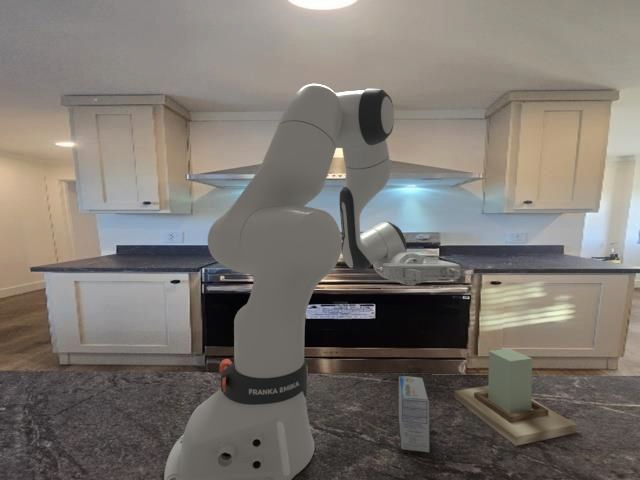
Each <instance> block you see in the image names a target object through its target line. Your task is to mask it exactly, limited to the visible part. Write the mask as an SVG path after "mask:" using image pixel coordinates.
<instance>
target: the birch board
mask: <svg viewBox="0 0 640 480" xmlns="http://www.w3.org/2000/svg"><path fill="white" fill-rule="evenodd" d="M453 399H455V400H456V401H457V402H458V403H460V404H461V405H463V406H464V407H465V408H467V409H468V410H469V411H470V412H472V413H473V414H474V415H475V416H476V417H478V418H480V419H481V420H482V421H483V422H484V423H486V424H487V425H488V426H489V427H490V428H492V429H494V430H495V432H498V434H500V435H501V436H502V437H504V438H505V439H506V440H507V441H508V442H510V443H511V444H512V445H514V446H515V447H517V446H522V445H526V444H530V443H535V442H540V441H545V440H549V439H555V438H558V437H563V436H567V435H573V434H576V433H577V424H576V423H574V422H572V421H571V420H570V419H568V418H566V417H564V416H563V415H561V414H559V413H558V412H555V411H554V410H552V409H550V408H548V407H547V406H545V405H543V404H541V403H539V402H538V401H536V399H535V400H534V399H533V398H532V401H531V410H530V411H524V412H519V413H514V414H509V413H508V412H506V411H505V410H503V409H502V408H500V407H499V406H497V405H496V404H494V403H493V402H491V401H490V400H489V399H488V385H485V386H478V387H471V388H464V389H459V390H458V389H457V390H453Z"/></svg>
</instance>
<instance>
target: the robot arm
mask: <svg viewBox="0 0 640 480" xmlns="http://www.w3.org/2000/svg"><path fill="white" fill-rule="evenodd" d="M394 122H395V110H394V103H393V101H392V98H391V96H390V95H389V94H388V93H387V92H386V91H385V90H384V89H379V88H365V89H364V90H350V91H349V90H348V91H342V92H339V91H337V92H335V91H334V90H332V88H329V86H326V85H324V84H323V85H322V84H319V83H311V84H307V85H305V86H303V87H302V88H300V89H299V90H298V91H297V92H296V93H295V95H294V96H293V97H292V99H291V101H290V102H289V104H288V105H287V107H286V108H285V110H284V112H283V114H282V116H281V118H280V120H279V122H278V125H277V127H276V129H275V131H274V132H275V133H274V134H273V137H272V139H271V141H270V143H269V146H268V149H267V151H266V153H265V155H264V157H263V160H262V163H261V164H260V166H259V168H258V169H257V171H256V173H254V176H253V177H252V179H251V180H250V181H249V183H248V184H247V185H246V187H245V188H244V190H243V191H242V192H241V194H240V195H239V196H238V198H237V199H236V200H235V202H234V203H233V205H232V206H230V208H229V209H228V210H227V211H225V213H224V214H222V216H220V217H219V218H218V219H216V220H215V221H214V223H213V224H212V225H211V226H210V229H209V231H208V235H207V246H208V251H209V253H210V255H211V257H212V258H213V259H214V260H215V261H216V262H217V263H218V264H220V265H222V266H224V267H225V268H227V269H228V270H231V271H233V272H236V273H239V274H240V273H241V274H248V275H253V284H252V288H251V292H250V295H249V298H248V300H247V303H246V304H245V305H243V306H242V307H241V308H240V309H239V310H237V313H236V314H235V316H234V319H233V326H234V327H233V336H234V338H233V341H234V342H233V343H234V344H233V345H234V346H233V348H234V349H233V351H234V352H233V353H234V354H233V360H234V361H231V359H229V358H225V359H222V360H221V362H220V363H219V368H218V371H219V373H220V388H219V389H218V390H217V391H216V392H214V393H213V394H212V395H211V396H210V397H208V398H207V399H206V400H205V401H202V403H201V404H199V405H198V406H197V407H196V408H195V409H194V411H192V414H191V416H190V417H189V419H188V422H187V424H186V427H185V429H184V433H183V434H182V435H181V436H180V437H179V438H178V439H177V440H176V442H175V443H174V445H173V447H172V449H171V450H170V452H169V454H168V457H167V459H166V463H165V467H164V471H163V472H164V474H163V480H292V479H293V478H295V476H297V475H298V474H299V473H300V472H301V471H303V469H305V468H306V466H307V465H308V464H309V463H310V462H311V460H312V458H313V456H314V453H315V449H316V448H315V445H316V444H315V440H314V437H313V433H312V429H311V425H310V422H309V416H308V407H307V399H306V397H307V396H308V387H309V382H308V381H309V378H308V377H309V374H308V373H309V372H308V371H309V370H308V362H307V360H306V358H305V333H306V332H305V330H306V329H305V326H306V316H307V310H308V306H309V303H310V300H311V298H312V295H313V293H314V291H315V289H316V287H317V286H318V285H319V283H320V282H321V281H322V280H323V279H324V278H325V277H327V276H329V274H330V273H332V272H333V270H334V269H335V268H336V266H337V264H338V262H339V260H340V257H341V254H342V258H343V260H344V262H345V264H346V265H347V266H348V268H349V269H351V270H354V271H358V272H364V271H365V270H367V269H368V268H370V267H371V266H373V269H374V271H375V273H377V274H378V275H379V276H380V277H382V278H384V279H386V280H389V281H394V282H396V283H400V284H403V285H406V286H415V285H418V284H421V283H425V282H432V281H434V282H435V281H439V280H458V279H460V278H461V271H462V270H461V265H460V264H458V263H455V262H452V261H446V260H443V259H439V257H436V256H435V257H434V256H425V255H421V254H417V253H414V252H407V251H408V250H407V249H408V247H407V241H406V237H405V234H403V233H404V232H402V229H400V228H399V227H398V226H397V225H396V224H394V223H392V222H389V221H385V220H384V221H382V222H380V223H378V224H376V225H373V226H372V227H370V228H368V229H367V230H365V231H363V232H361V221H360V219H361V214H362V212H363V210H364V209H365V207H366V206H367V205H368V203H369V202H371V201H372V199H374V197H376V195H378V194H379V192H381V191H382V190H383V189H384V187H386V186H387V183H388V181H389V179H390V176H391V162H390V154H389V148H388V144H387V139H388V137H389V136H390V135H391V134H392V132H393V128H394V124H395V123H394ZM336 149H342V156H343V160H344V165H345V170H346V171H345V180H344V183H343V187H342V189H341V190H340V192H339V214H340V224H341V225H340V226H341V227H339V224H338V223H337V222H336V220H335V219H334V217H333V215H331V214H330V213H329V212H327V211H326V210H322V209H319V208H314V207H311V206H310V207H308V206H306V205H308V203H310V202H311V201H313V200H314V199H316V198H317V196H318V195H320V193H321V192H322V190H323V189H324V186H325V183H326V181H327V177H328V175H329V171H330V169H331V166H332V165H331V164H332V162H333V159H334V156H335V153H336ZM340 228H341V229H340Z"/></svg>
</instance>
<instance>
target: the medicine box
mask: <svg viewBox="0 0 640 480" xmlns="http://www.w3.org/2000/svg"><path fill="white" fill-rule="evenodd" d="M429 400H430V399H429V395H428V392H427V388H426V385H425V382H424V378H423V377H419V376H418V377H417V376H409V375H408V376H406V375H399V377H398V424H399V433H400V434H399V436H400V444H401V445H400V446H401V447H400V448H401V450H407V451H413V452H420V453H421V452H422V453H430V401H429Z"/></svg>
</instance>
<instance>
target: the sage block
mask: <svg viewBox="0 0 640 480" xmlns="http://www.w3.org/2000/svg"><path fill="white" fill-rule="evenodd" d="M487 386H488V399H489V400H490V401H491V402H493V403H494V404H496V405H497V406H499V407H500V408H502V409H503V410H505V411H506V412H508V413H509V414H514V413H519V412H524V411H530V410H531V401H532V399H533V396H532V394H533V393H532V390H533V358H532V357H530V356H527V355H525V354H523V353H520V352H518V351H516V350H513V349H512V348H503V349H495V350H494V349H493V350H489V351H488V384H487Z"/></svg>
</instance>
